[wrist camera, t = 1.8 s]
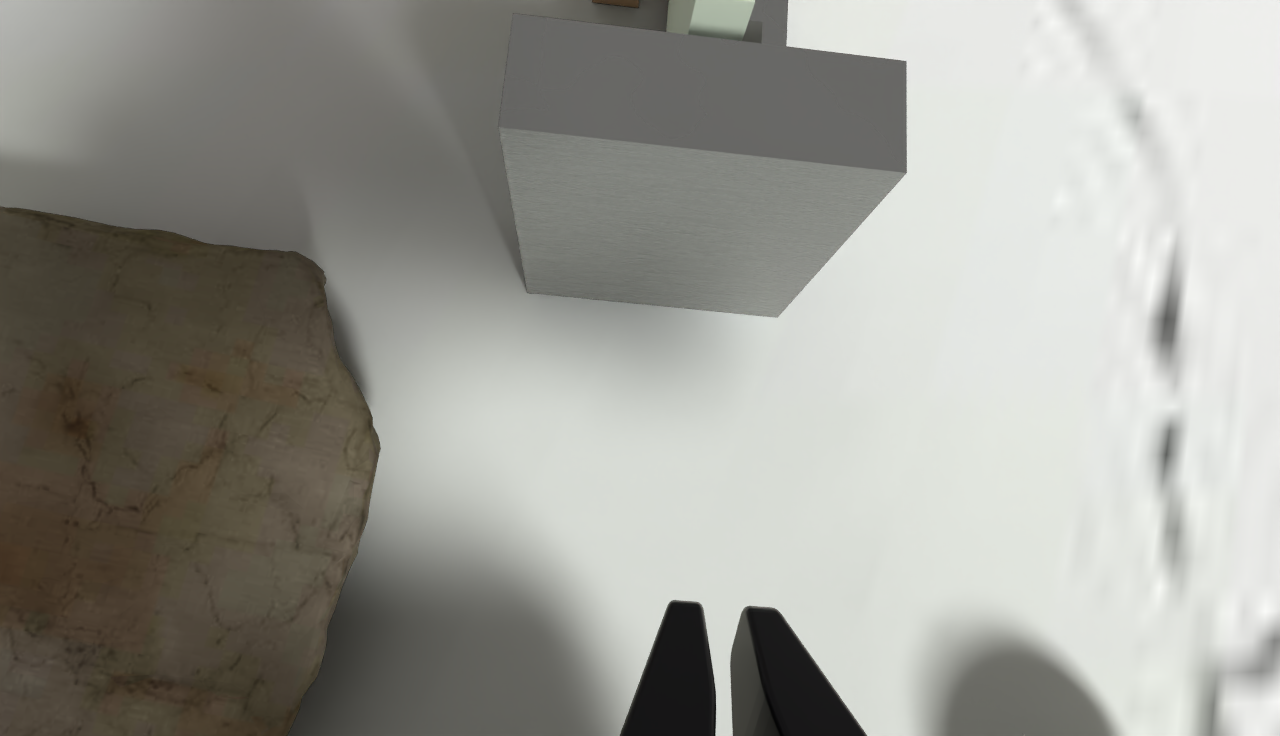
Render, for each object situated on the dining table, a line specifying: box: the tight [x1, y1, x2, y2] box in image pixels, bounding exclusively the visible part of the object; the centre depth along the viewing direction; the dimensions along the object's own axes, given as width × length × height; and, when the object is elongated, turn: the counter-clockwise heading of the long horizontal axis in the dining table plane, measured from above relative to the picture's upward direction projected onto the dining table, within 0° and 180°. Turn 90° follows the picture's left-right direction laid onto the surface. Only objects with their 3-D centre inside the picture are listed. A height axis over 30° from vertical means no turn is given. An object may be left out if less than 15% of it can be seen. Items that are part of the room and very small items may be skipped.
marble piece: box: [0, 207, 381, 736], centre depth 21 cm, size 17×15×4 cm
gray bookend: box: [498, 0, 907, 317], centre depth 21 cm, size 12×8×10 cm
